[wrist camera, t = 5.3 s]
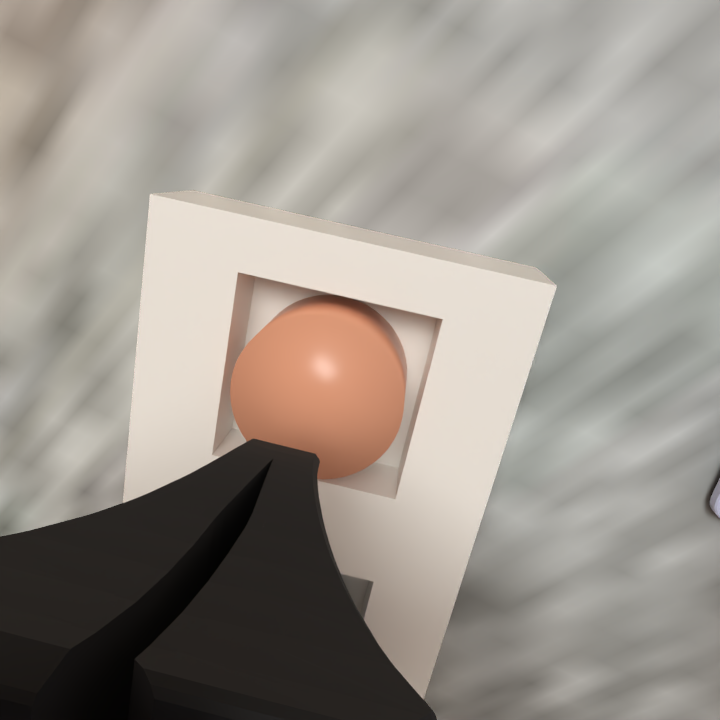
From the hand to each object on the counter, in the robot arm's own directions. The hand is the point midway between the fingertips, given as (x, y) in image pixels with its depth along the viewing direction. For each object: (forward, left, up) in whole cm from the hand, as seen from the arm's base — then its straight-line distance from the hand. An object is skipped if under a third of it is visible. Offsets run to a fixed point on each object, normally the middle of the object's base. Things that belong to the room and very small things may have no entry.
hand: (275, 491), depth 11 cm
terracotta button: (0, 0, -6) cm, 6 cm away
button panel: (0, +8, -7) cm, 11 cm away
